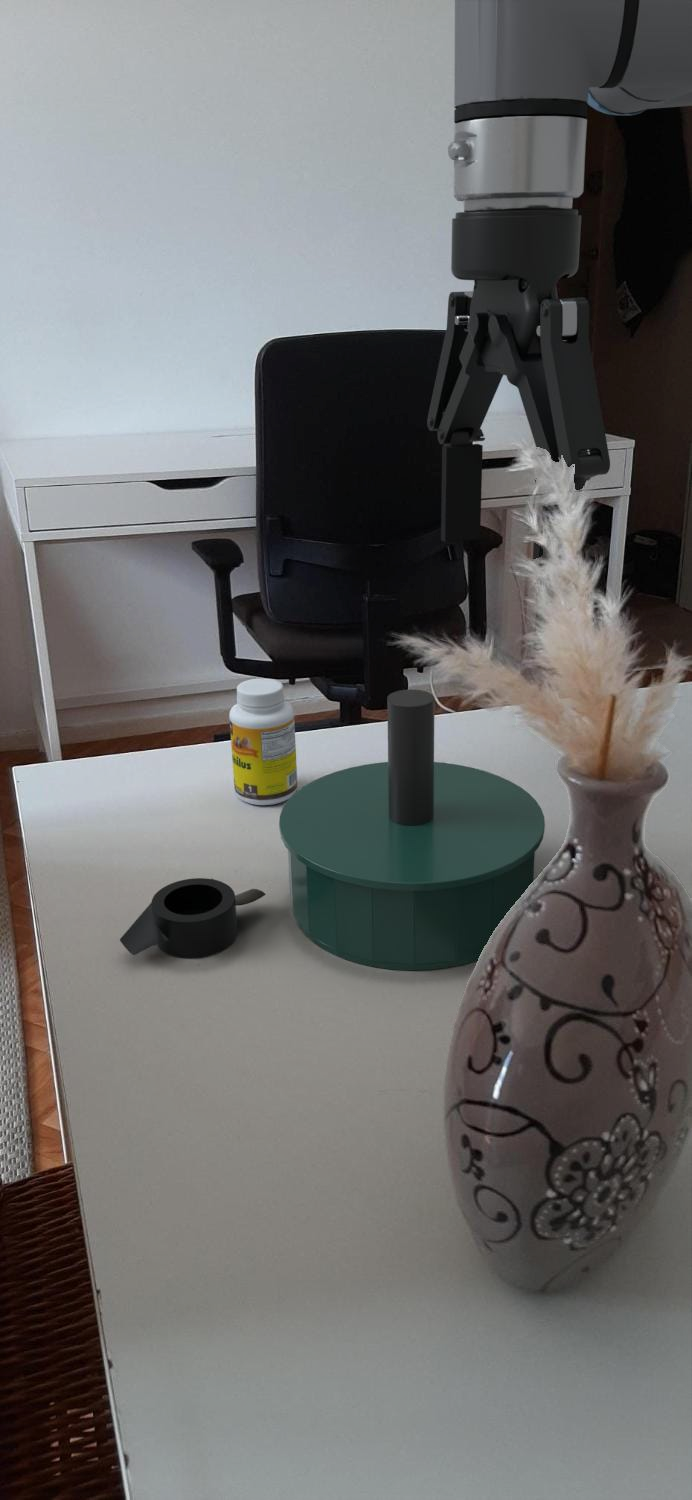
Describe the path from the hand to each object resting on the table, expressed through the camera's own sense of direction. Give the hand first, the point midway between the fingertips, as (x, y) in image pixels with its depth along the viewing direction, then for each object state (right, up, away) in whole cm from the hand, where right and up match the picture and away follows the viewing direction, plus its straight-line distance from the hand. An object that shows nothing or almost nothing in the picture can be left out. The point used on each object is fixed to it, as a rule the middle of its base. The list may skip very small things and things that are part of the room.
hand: (503, 562), depth 76 cm
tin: (-6, -23, +9) cm, 26 cm away
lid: (-6, -18, +6) cm, 19 cm away
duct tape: (-21, -26, +6) cm, 34 cm away
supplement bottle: (-17, -16, +26) cm, 35 cm away
